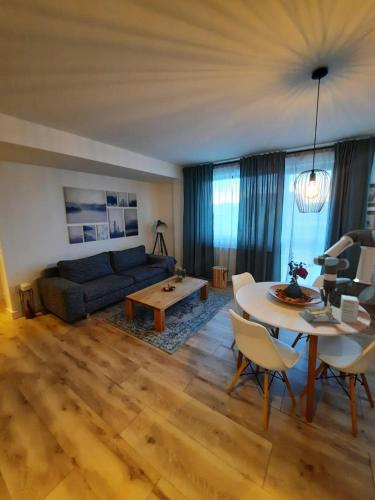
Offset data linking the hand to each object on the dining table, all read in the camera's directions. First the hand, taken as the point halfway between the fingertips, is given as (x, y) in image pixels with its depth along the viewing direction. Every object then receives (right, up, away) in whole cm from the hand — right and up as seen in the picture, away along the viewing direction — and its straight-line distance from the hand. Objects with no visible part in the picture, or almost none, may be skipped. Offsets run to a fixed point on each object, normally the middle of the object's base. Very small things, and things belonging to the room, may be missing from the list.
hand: (327, 310), depth 148 cm
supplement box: (+17, -7, +2) cm, 19 cm away
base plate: (-3, -7, +6) cm, 9 cm away
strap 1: (-1, -2, +9) cm, 9 cm away
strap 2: (-5, -2, +1) cm, 5 cm away
